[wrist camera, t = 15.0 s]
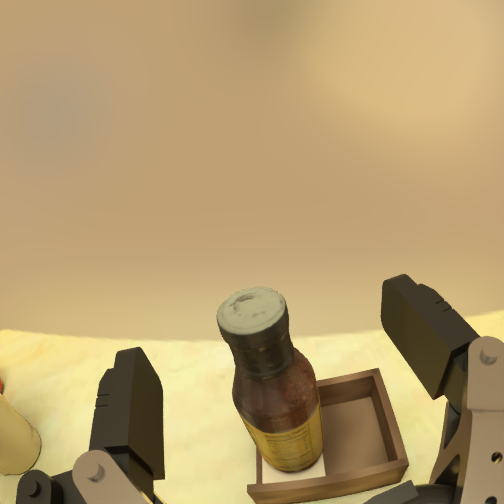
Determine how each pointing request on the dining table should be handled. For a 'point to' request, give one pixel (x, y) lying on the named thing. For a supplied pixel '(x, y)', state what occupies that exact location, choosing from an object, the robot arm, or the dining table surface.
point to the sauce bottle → (272, 380)
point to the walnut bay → (342, 446)
